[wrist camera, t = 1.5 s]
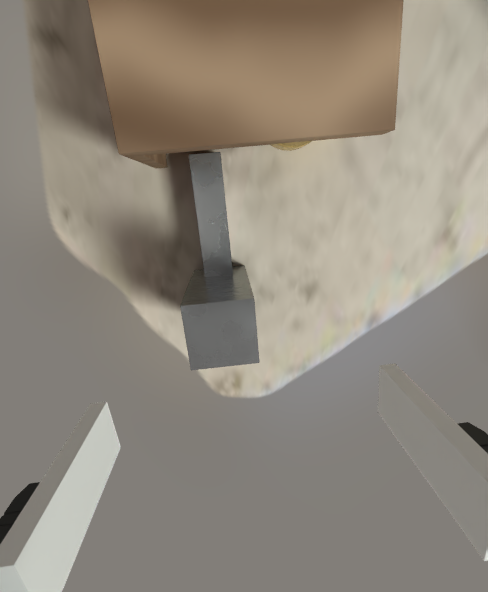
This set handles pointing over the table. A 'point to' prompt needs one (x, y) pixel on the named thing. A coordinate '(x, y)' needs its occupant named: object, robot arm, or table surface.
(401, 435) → the robot arm
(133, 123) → the brown piece
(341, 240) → the table surface
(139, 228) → the table surface
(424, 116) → the table surface
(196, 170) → the grey toy mallet
